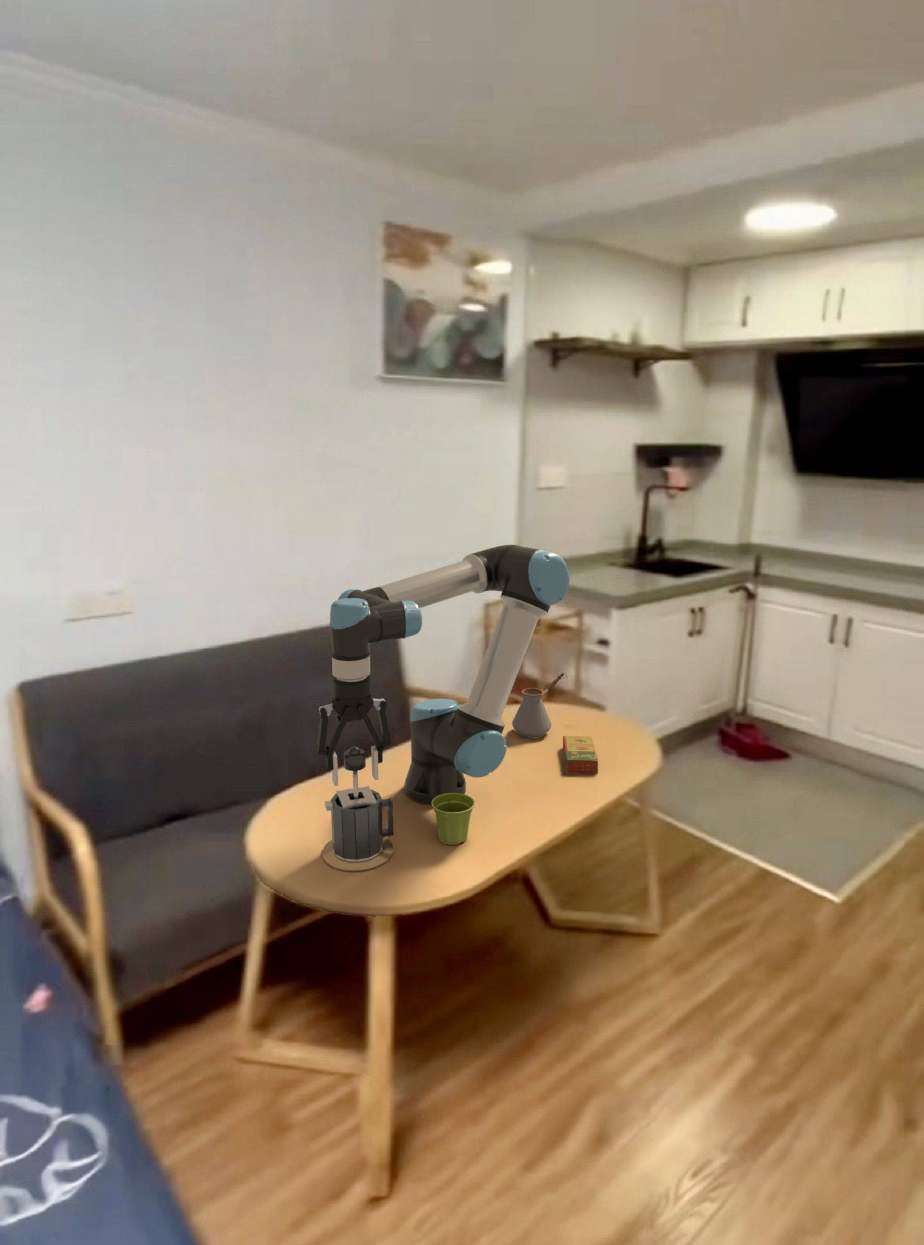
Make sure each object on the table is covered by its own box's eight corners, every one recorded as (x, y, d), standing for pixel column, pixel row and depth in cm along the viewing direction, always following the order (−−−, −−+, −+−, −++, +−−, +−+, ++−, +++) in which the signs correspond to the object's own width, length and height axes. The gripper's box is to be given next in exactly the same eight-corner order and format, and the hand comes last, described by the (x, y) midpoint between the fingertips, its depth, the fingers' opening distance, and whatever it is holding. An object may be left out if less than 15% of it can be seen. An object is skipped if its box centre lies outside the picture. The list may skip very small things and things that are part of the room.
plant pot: (434, 826, 180) (434, 791, 177) (476, 828, 179) (476, 793, 176) (428, 848, 171) (428, 811, 168) (472, 850, 170) (472, 813, 167)
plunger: (370, 829, 172) (367, 738, 167) (377, 845, 166) (374, 751, 161) (338, 834, 170) (334, 742, 165) (344, 851, 164) (340, 756, 158)
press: (385, 829, 178) (383, 775, 175) (402, 864, 164) (401, 806, 161) (317, 840, 173) (314, 785, 170) (329, 877, 160) (326, 818, 156)
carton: (591, 749, 221) (592, 735, 220) (598, 775, 206) (599, 760, 205) (561, 748, 222) (562, 734, 221) (566, 774, 206) (566, 759, 205)
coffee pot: (534, 744, 224) (536, 694, 220) (503, 733, 232) (504, 684, 228) (578, 723, 239) (580, 676, 235) (548, 713, 247) (549, 668, 243)
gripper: (396, 665, 165) (398, 765, 171) (297, 675, 159) (303, 779, 165) (406, 676, 159) (408, 780, 164) (302, 687, 152) (308, 795, 158)
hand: (355, 780), depth 165 cm, fingers open, 8 cm apart
